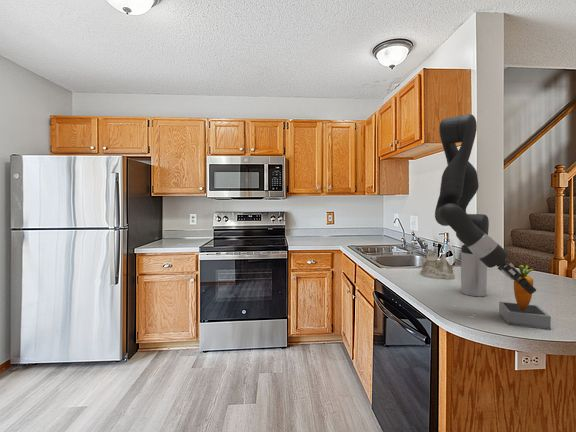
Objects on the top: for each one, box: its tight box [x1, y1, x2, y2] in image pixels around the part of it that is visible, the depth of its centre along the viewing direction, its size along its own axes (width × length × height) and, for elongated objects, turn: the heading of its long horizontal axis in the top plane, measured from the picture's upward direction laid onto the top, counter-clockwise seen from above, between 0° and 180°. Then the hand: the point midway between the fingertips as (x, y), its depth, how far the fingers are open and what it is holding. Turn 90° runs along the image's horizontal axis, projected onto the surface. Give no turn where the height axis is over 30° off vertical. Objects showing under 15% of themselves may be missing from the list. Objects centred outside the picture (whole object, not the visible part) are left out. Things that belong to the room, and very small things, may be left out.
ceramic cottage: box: [419, 248, 456, 281], centre depth 158 cm, size 16×16×15 cm
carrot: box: [513, 264, 534, 311], centre depth 97 cm, size 5×5×15 cm
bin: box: [498, 301, 552, 331], centre depth 97 cm, size 11×11×4 cm
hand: (530, 289), depth 96 cm, fingers closed on carrot, 4 cm apart
